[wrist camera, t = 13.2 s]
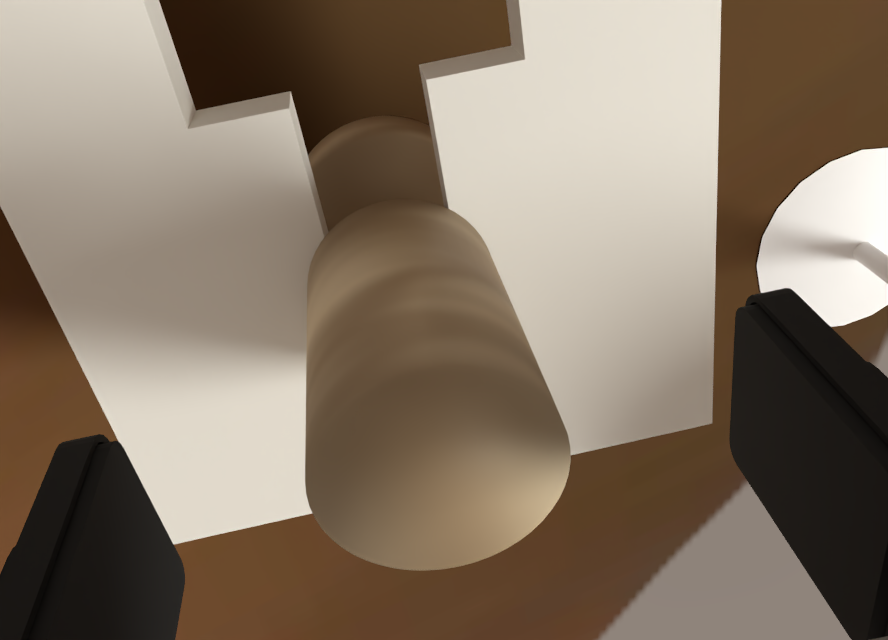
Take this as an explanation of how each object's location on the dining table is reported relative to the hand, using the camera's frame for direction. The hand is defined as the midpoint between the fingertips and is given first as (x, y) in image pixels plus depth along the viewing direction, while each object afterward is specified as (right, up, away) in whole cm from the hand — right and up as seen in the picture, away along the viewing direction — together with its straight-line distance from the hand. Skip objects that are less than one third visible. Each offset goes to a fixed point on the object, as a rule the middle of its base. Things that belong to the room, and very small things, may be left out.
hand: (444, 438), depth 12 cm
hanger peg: (-2, +5, +9) cm, 10 cm away
